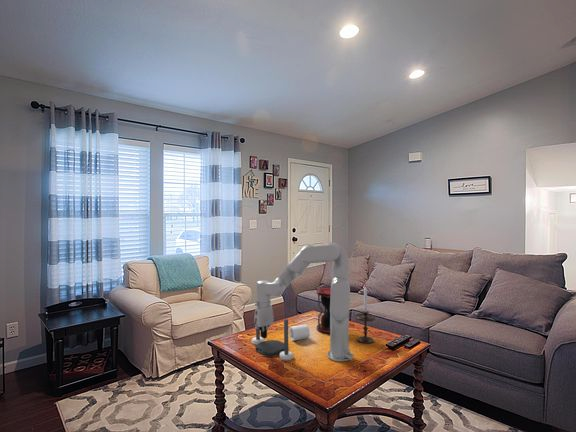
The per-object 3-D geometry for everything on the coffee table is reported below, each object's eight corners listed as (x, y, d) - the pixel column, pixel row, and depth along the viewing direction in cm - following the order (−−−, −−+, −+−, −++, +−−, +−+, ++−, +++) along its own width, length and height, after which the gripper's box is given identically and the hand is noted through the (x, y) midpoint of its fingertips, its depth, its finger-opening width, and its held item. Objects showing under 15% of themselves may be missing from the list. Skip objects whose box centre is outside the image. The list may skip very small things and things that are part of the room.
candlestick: (354, 343, 195) (354, 282, 194) (357, 336, 205) (357, 278, 204) (374, 345, 192) (374, 283, 190) (375, 338, 202) (375, 279, 201)
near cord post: (295, 358, 177) (295, 319, 176) (285, 362, 172) (285, 323, 172) (287, 353, 182) (286, 316, 182) (277, 357, 178) (276, 319, 177)
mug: (309, 340, 200) (309, 326, 200) (294, 343, 196) (294, 329, 196) (301, 333, 211) (301, 320, 211) (286, 335, 207) (286, 322, 207)
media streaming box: (290, 350, 187) (290, 345, 187) (269, 358, 177) (269, 353, 177) (272, 342, 198) (272, 337, 198) (252, 350, 188) (252, 344, 188)
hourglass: (312, 326, 222) (312, 288, 221) (335, 324, 227) (335, 286, 226) (322, 335, 207) (322, 295, 206) (346, 332, 211) (346, 292, 210)
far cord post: (266, 342, 197) (266, 308, 196) (256, 345, 192) (256, 310, 192) (259, 339, 202) (259, 305, 202) (249, 342, 198) (249, 308, 197)
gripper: (256, 308, 176) (256, 343, 176) (278, 302, 185) (279, 336, 186) (248, 305, 181) (248, 339, 182) (270, 299, 191) (270, 332, 191)
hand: (263, 337), depth 184 cm, fingers closed
